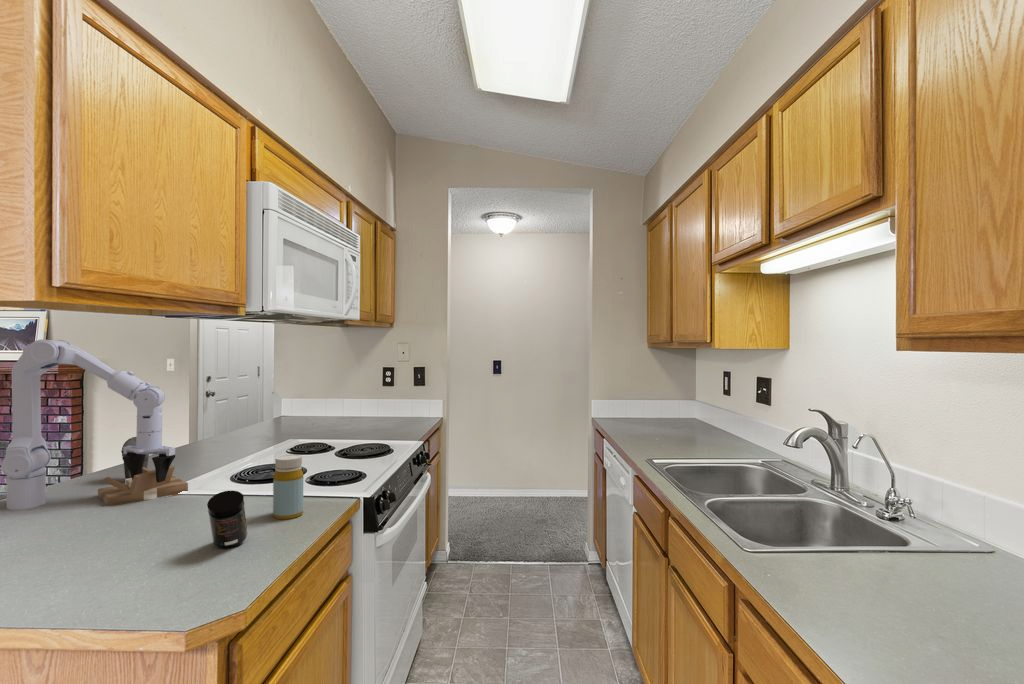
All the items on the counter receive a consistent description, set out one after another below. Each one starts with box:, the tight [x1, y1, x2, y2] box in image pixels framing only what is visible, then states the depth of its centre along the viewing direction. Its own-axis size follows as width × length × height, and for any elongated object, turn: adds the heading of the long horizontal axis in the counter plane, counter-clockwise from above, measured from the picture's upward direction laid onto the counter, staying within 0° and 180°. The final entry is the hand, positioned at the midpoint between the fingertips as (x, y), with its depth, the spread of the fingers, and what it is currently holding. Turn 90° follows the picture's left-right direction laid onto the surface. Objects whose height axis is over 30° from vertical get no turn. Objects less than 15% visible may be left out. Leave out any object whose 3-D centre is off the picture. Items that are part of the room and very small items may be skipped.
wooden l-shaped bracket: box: [103, 464, 175, 495], centre depth 139 cm, size 9×12×5 cm
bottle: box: [272, 454, 304, 520], centre depth 129 cm, size 7×7×15 cm
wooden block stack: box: [97, 475, 189, 507], centre depth 141 cm, size 14×18×6 cm
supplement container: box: [207, 490, 248, 550], centre depth 108 cm, size 7×7×10 cm
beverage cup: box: [121, 436, 150, 480], centre depth 154 cm, size 7×7×20 cm
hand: (148, 480), depth 139 cm, fingers open, 7 cm apart
